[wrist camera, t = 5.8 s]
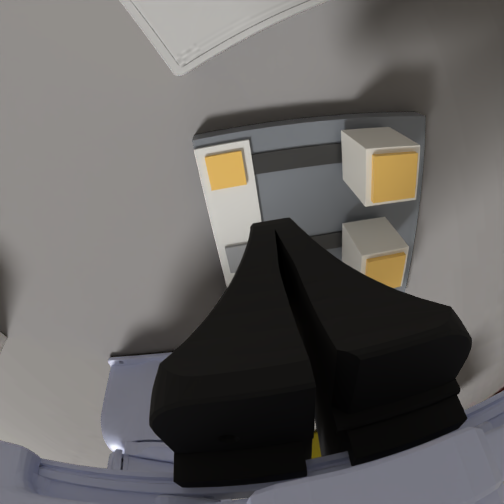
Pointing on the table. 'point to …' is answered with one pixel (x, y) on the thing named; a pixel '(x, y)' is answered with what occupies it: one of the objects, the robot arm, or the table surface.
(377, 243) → the switch mid
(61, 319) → the table surface
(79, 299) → the table surface
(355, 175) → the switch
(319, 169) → the switch unit
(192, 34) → the power supply unit
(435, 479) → the robot arm
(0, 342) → the ink cartridge box
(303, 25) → the table surface
